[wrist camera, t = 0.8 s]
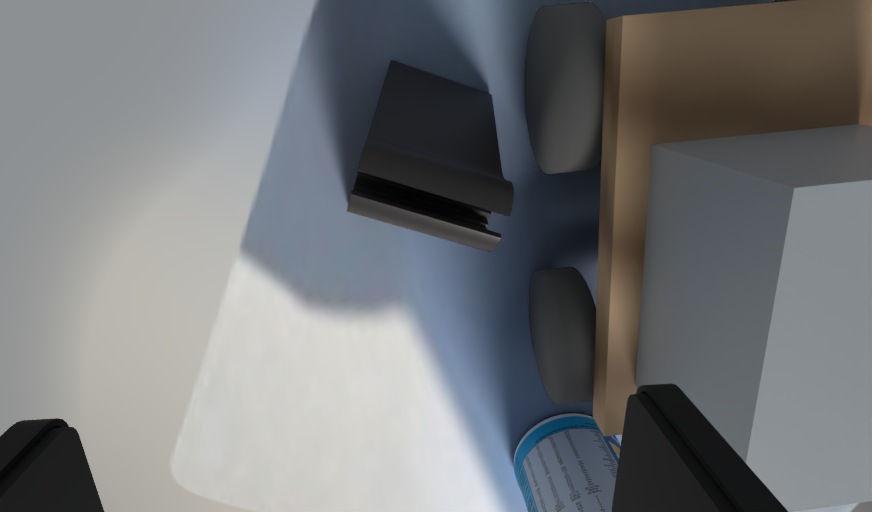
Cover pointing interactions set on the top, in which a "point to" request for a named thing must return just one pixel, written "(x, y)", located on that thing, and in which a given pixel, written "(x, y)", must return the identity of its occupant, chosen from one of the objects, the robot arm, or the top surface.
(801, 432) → the trolley
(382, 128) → the phone stand
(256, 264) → the top surface
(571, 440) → the beverage bottle
